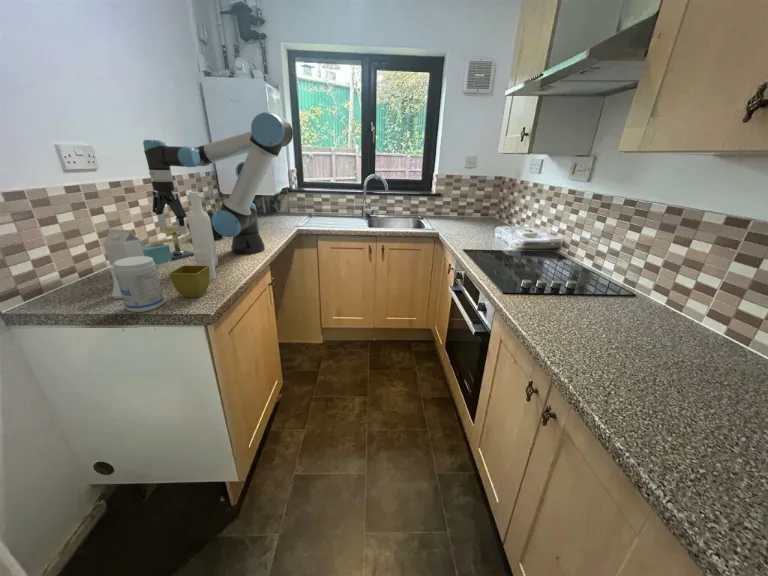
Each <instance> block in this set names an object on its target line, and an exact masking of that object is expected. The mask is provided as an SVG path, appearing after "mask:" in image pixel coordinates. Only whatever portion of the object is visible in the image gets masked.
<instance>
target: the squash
mask: <svg viewBox="0 0 768 576" xmlns="http://www.w3.org/2000/svg"><path fill="white" fill-rule="evenodd" d="M206 213H207V214H208V216H209V217H210V220H211V226H212V231H213V237H214V241H215V240H219V239H222V238H223V237H224V236H222V235H220V234H219V233H218V232H217V231H216V230H215V229H214V227H213V225H212V216H213V215H214V213H215V212H212V211H209V212H206Z"/></svg>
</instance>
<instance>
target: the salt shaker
mask: <svg viewBox="0 0 768 576" xmlns="http://www.w3.org/2000/svg"><path fill="white" fill-rule="evenodd" d="M108 268H109V271H110V272H111V276H112V280H113V289H112V292H111V296H112V298H114V299H123V297H122V294H121V291H120V287H119V284H118V281H117V277H116V274H115V270H114V264H113V265H110V264H109V265H108Z"/></svg>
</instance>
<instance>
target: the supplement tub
mask: <svg viewBox="0 0 768 576" xmlns="http://www.w3.org/2000/svg"><path fill="white" fill-rule="evenodd" d="M113 264H114V270H115V274H116V277H117V281H118V284H119V287H120V291H121V294H122V297H123V298H122V300H123V303H124V307H125V309H126V310H127V311H129V312H132V313H143V312H144V313H145V312H149V311H152V310H156V309H158V308H159V307H161V306H162V305H164V303H165V300H164V295H163V291H162V287H161V284H160V279H159V274H158V269H157V267H156V266H157V265H155V263H154V260H153V258H151V257H147V256H136V257H128V258H123V259H120V260H117V261H115V262H114V263H113Z"/></svg>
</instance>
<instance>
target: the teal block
mask: <svg viewBox="0 0 768 576" xmlns="http://www.w3.org/2000/svg"><path fill="white" fill-rule="evenodd" d="M141 246H142V249H143V253H144V256H147V257H151V258H153V260H154V263H155V266H157V265H156V264H158V265H161V264H160V263H162V264H165V263H164V262H166V263H169V262H168V261H170V262H173V260H172V257H171V249H170V246H169V245H167V244H166V243H164V244H159V245H154V246H153V245H150V244H145V245H141Z"/></svg>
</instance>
